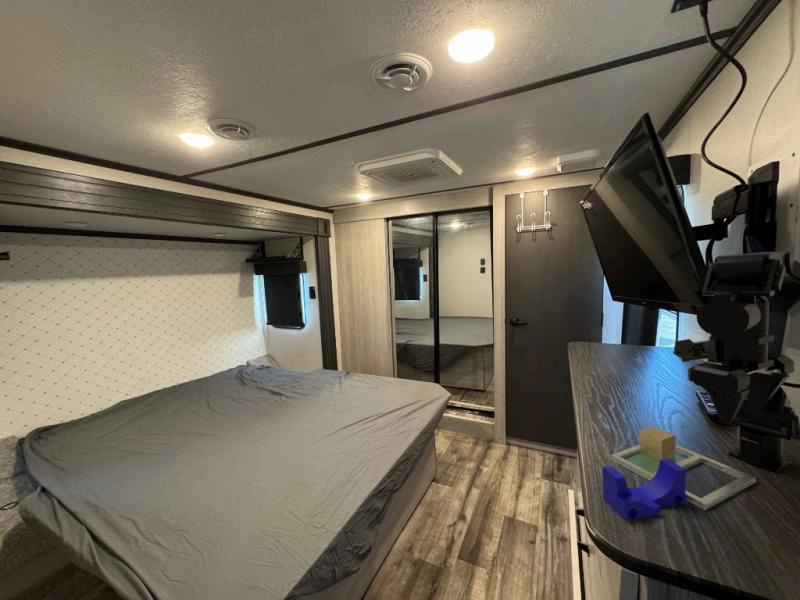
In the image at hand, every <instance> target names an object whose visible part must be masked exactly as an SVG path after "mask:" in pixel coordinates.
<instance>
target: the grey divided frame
mask: <svg viewBox="0 0 800 600" xmlns="http://www.w3.org/2000/svg"><path fill="white" fill-rule="evenodd" d="M676 453H678V454H680V455H682V454H683V456H685V455H686V456H685V457H687V456H688V457H687V458H684V457H682V456H680V455H678V454H676ZM610 460H611V461H613V462H614V463H616V464H618V465H620V466H622V467H623V468H625V469H627V470H629V471H631V472H632V473H634V474H637V475H639V476H640V477H642V478H643V479H646V480H648V482H650V481H651V480H652V479H653V477H654V476H655V475H656V473H657V471H658V468H659V466H657V465H655V464H653V463H651V462H649V461H647V460H645V459H643V458H641V457H640V443H639V444H637V445H634V446H631V447H629V448H626V449H624V450H621V451H618V452H616V453H612V454H611V455H610ZM675 463H676V464H677V465H679V466H681V467H682V468H684V469H686V470H688V469H690V468H693V467H695V466H697V465H699V464H703V463H704V465H706V466H709V467H710V466H711V468H714V469H715V470H718V471H720V472H722V473H726V474H727V475H729V476H732V477H734V478H737V479H735V480H733V481H731V482H729V483H727V484H726V485H725V484H724V486H722V487H720V488H718V489H716V490H714V491H712V492H710V493H708V494H706V495H704V496H703V497H699V496H697V495H695V494H694V493H692V492H689V491H688V490H686V489H685V501H686V502H689V503H691V504H693V505H694V506H695V507H696V506H697V507H699V508H700V509H702V510H703V511H707V510H709V509H710V508H712V507H714V506H716V505H717V504H720V503H721V502H723V501H725V500H726V499H729V498H730V497H732V496H734V495H736V494H738V493H739V492H741V491H743V490H745V489H746V488H748V487H750V486H752V485H754V484H756V476H753V475H751V474H750V473H749V474H748V473H747V472H743V471H741V470H739V469H736V468H734V467H731V466H730V465H727V464H724V463H721V462H719V461H717V460H715V459H712V458H708V457H707V456H705V455H703V454H700V453H698V452H695V451H692V450H690V449H687V448H685V447H684V446H683V447H682V446H681V445H677V444H675Z"/></svg>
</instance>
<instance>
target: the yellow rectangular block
mask: <svg viewBox="0 0 800 600" xmlns="http://www.w3.org/2000/svg"><path fill="white" fill-rule="evenodd" d="M638 433H639V444H640V457H641V458H643V459H645V460H647V461H649V462H651V463H653V464H655V465H657V466H659V464H660V460H662V459H669V460H671V461H672V462H674V463H675V454H676V452H675V445H676V435H675V434H673V433H669V432H668V431H665V430H663V429H660V428H657V427H655V426H651V427H647V428H645V429H640V430H639V432H638Z"/></svg>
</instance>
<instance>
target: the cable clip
mask: <svg viewBox="0 0 800 600" xmlns="http://www.w3.org/2000/svg"><path fill="white" fill-rule="evenodd" d="M686 470H687V469H684V468H682V467H681V466H679V465H677V464H676V463H674V462H672V461H671V460H669V459H662V460H660V464H659V468H658V471H657V473H656V475H655V476H654V477H653V479H652V480H651V481H648V482H647V483H646V484H643V485H641V486H638V487H629V486H628V484H627V481H626V480H627V479H626V476H625V475H623V474H622V473H621V472H620V471H618V470H617V469H616V468H614V467H613V465H605V466H602V500H604V502H606V503H607V505H608V506H610V507H611V509H613V510H614V511H615V512H616V513H617V514H618V515H619V516H620V517H621V518H622V519H623V520H625V521H627V520H633V519H642V518H647V517H656V516H661V507H667V506H675V505H681V504H682V505H683V504H686V500H685V490H686V479H687V478H686Z"/></svg>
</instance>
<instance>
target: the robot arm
mask: <svg viewBox="0 0 800 600" xmlns="http://www.w3.org/2000/svg"><path fill="white" fill-rule="evenodd" d="M785 273H786V274H785ZM701 295H702V296H703V297H704V296H707V297H708V296H712V297H713V300H712V301H709V302H706V303H705V304H703V305H702V306H701V307H700V308H699V310H698V312H697V313H696V322H697V323H698V325H699V327H700V328H701V330H702V331H705V333H707V334H709V339H708V340H707V339H706V340H702V341H701V340H700V341H693V340H691V339H690V338H687V339H683V340H682V339H681V340H676V341H675V343H674V346H673V352H672V353H673V355H674V356H676V357H678V358H679V359H680V360H681V362H682V363H687V362H690V361H697V360H706V359H707V361H706V362H703V363H699V364H694V365H693V366H691V367H689V368H688V369H687V381H689V382H691V383H693V384H694V385H695V386H698V387H700V388H702V389H703V390H704V391H706V393H708V395H709V398H710V399H711V401H712V404H713V406H714V409H715V412H716V414H717V416H718V419H719V421H720V422H721V423H722V424H725V425H732V426H735V427H737V447H735V448H733V449H731V450H728V453H727V454H728V455H729V456H731V457H734V458H737V459H740V460H742V461H745V462H747V463H750V464H753V465H755V466H757V467H760V468H763V469H766V470H769V471H771V472H774V473H777V472H779V471H781V470H783V469H785V468H787V467H788V466H790V465H791V464H792V463H793V460H791V459H789V458H786V457H784V456H783V454H784V453H783V451H784V440H786V441H790V442H792V441H793V440H800V417H799V416H798V415H797V414H796V411H795V407H791V404H792V402H791V400H790V399H789V397H788V395H787V394H786V392H785V390H784V389H783V387H782V385H783V384H784V383H785V382H786V380H788V379H789V378H790V377H791V376H790V375H789V374H792V373H795V361H794V360H793V359H792V358H790V357H789V356H788V355H786V351H787V346H788V340H789V333H790V328H791V321H792V318H794V317H796V316H797V315H798V314H800V262H799V261H798V260H796V259H795V254H794V252H793V251H787V250H780V251H765V252H764V251H763V252H753V253H752V252H751V253H740V254H737V253H736V254H724V255H717V256H716V257H715V258H714V261H713V262H710V263H709V265H708V268H707V272H706V276H705V280H704V283H703V286H702V290H701Z"/></svg>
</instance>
